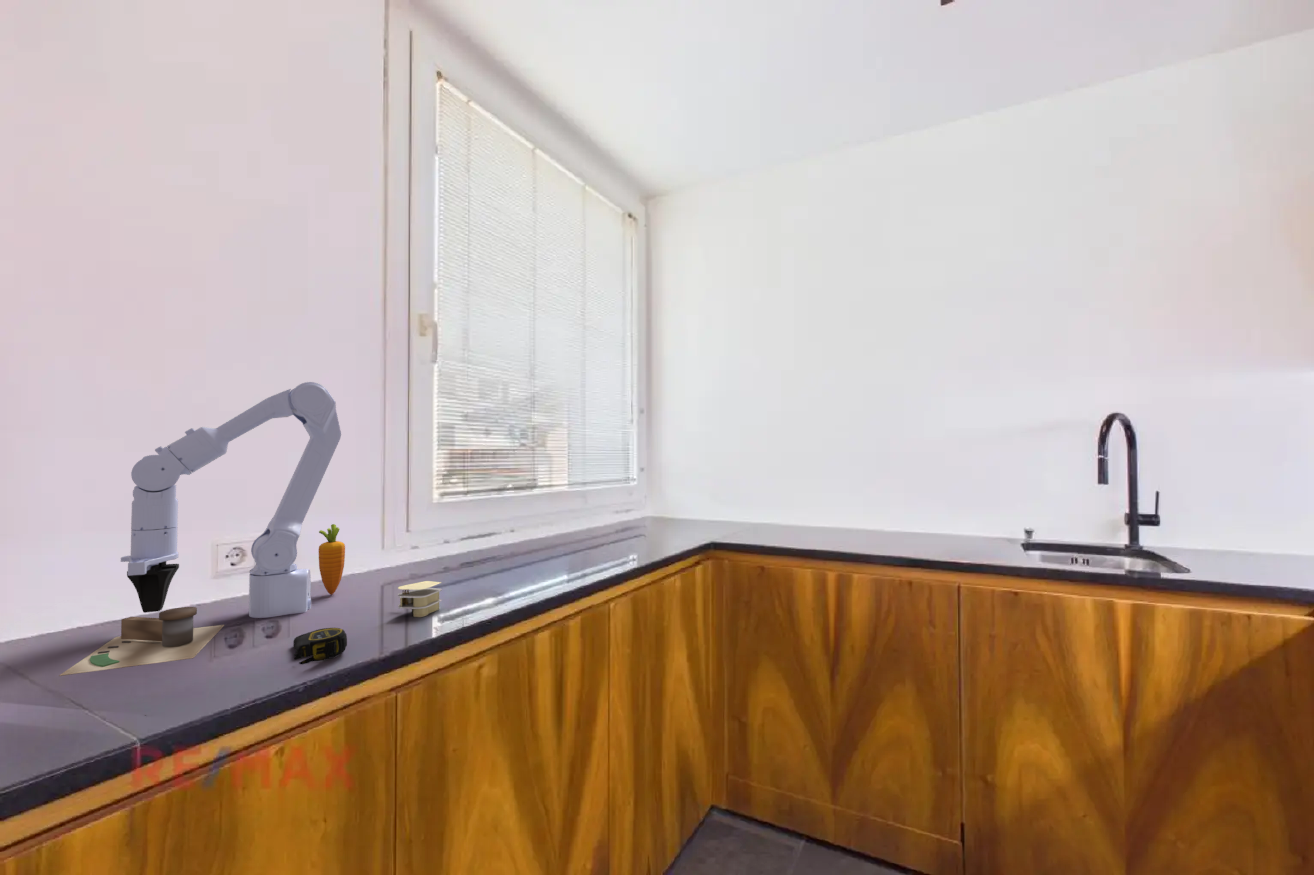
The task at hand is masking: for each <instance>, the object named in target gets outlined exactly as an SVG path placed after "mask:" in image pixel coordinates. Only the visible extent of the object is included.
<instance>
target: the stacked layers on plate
mask: <svg viewBox="0 0 1314 875" xmlns="http://www.w3.org/2000/svg"><path fill="white" fill-rule="evenodd" d="M439 584H442V582H441V581H440V582H439V581H431V580H425V581H418V582H414V583H409V584H405V585H401V586H398V587H397V589H398V590H402V592H400V593H397V597H398V598H399V600H400V601H399V602H400V603H399V604H397V608H398V609H401V610H403V609H404V610H406V609H407V610H408V609H409V610H411V613H412V615H413V617H414V618H422V617H426V616H429V614H431V613H433V612H436V611H439V610H440V603H441V602H442V601H443V599H440V592H441V591H442V590H443V589H442V588H435V587H434V586H437V585H439Z"/></svg>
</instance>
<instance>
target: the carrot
mask: <svg viewBox="0 0 1314 875" xmlns="http://www.w3.org/2000/svg"><path fill="white" fill-rule="evenodd" d="M326 530H327V532H326V531H324V530H322V529H320V530H319V531H318V533H319V534H321V535H322V536H324V537H325V539H326V540H327V541H326V542H322V543H321V544H320V545H319V546H318V567H319V568H318V569H319V574H320V578H321V581H322V584H323V586H324V588H325V590H326V592H327V593H328V594H329V595H330V596H332V595H334V593H335V592H336V590H337V589H338V587H339V585H340V583H341V580H342V576H343V573H344V569H345V561H346V560H345V558H346V545H345V543H344V542H342V541H339V540H337V536H338V534H339V532H340V528H339V527H337V525H336V524H335V523H333V524H332V523H331V525H330V527H328V528H327V529H326Z"/></svg>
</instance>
